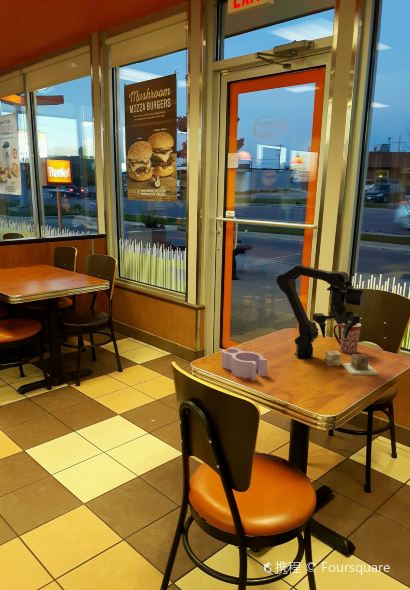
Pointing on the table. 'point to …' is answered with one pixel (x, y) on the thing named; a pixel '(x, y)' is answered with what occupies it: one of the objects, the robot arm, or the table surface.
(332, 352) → the maple cube
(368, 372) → the plate
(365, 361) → the walnut cube
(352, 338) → the mug
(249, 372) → the clip
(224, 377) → the table surface
